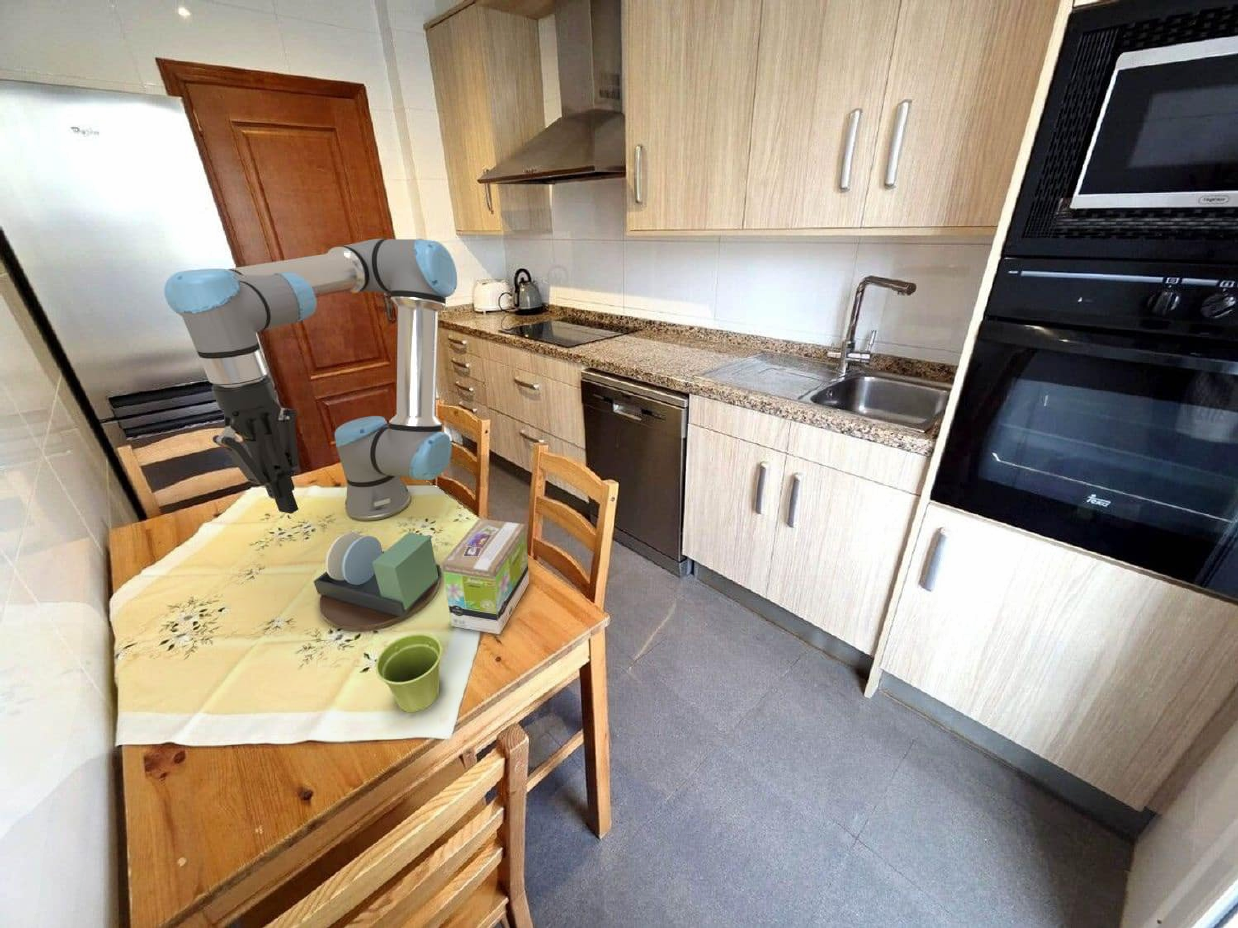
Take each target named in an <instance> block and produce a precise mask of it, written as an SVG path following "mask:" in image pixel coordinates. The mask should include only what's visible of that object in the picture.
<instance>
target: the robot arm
mask: <svg viewBox="0 0 1238 928" xmlns="http://www.w3.org/2000/svg"><path fill="white" fill-rule="evenodd" d="M457 272H458V271H457V267H456V264H455V261H454V258H453V257H452V255H451V253H450V251H449V250H448V249H447V247H446V246H445V245H444V244H443V243H441V242H439V241H437V240H431V239H430V240H429V239H424V238H415V239H414V238H413V239H412V238H409V239H408V238H406V239H401V238H400V239H399V238H374V239H368V240H364V241H359V242H354V243H350V244H345V245H340V246H335V247H331V249H329V250H328V251H327V253H323V254H318V255H317V254H316V255H310V256H304V257H303V256H302V257H297V258H291V259H284V260H278V261H271V262H265V263H257V264H252V265H245V266H240V267H239V266H238V267H232V268H228V269H227V268H200V269H189V270H182V271H181V270H180V271H178V272H175V273H173V274H172V275H171V276H170V277H169V278H168V279H167V280H166V282H165V284H164V287H163V288H164V289H163V292H164V298H165V300H166V303H167V305H169V307H170V309H171V310H172V311H173V312H175V313H176V314H177V315H179V316H180V317H182V320H183V323H184V324H185V326H186V330H187V332H188V334H189V337H190V339H191V341H192V344H193V346H194V348H195V350H196V353H197V356H198V358H199V360H200V363H201V364H202V367H203V370H204V373H205V375H206V377H207V380H208V382H209V383H210V384H212V386H211V388H210V389H211V391H212V393H213V396H214V399H215V401H216V404H217V406H218V408H219V409H220V411H221V412H222V414H223V417H224V418H223V425H224V429H223V431H222V432H221V433H220V434H216V435H214V436H213V437H212V442H213V443H214V444H216V445H218V446H219V447H221V448H222V449H223V450H224V451H225V452H226V453H227V455H228V456H229V457H230V458H231V460H232V462H234V464H235V466H237V468H238V469H239V470H240V472H241V473H242V474H243V476H244V477H245V478H246V479H247V481H248V482H249V483H253V484H257V485H262V486H263V485H264V487H265V490H266V492H267V496H268V497H269V498H270V499H273V500H274V501H275V505H276V506H277V507H276V508H277V509H278V511H279V512H280V513H285V514H289V515H292V514H294V513H295V512H297V511H299V506H298V504H297V500H296V498H295V495H294V493H293V491H294V490H295V484H294V481H293V478H292V476H294V475H295V470H293V469H294V468H297V467H298V466H299V463H300V462H299V461H300V460H299V453H298V443H297V433H296V421H297V415H298V412H297V410H296V409H295V408H294V409H293V408H287V407H282V406H281V405H280V403H279V402H278V401H277V398H278V397H277V392H276V390H275V386H274V384H273V381H272V377H270V376H268V374H269V367H268V365H267V363H266V360H265V357H264V354H263V352H262V348H261V345H260V343H259V340H258V336H257V333H260V332H263V331H268V330H271V329H275V328H279V327H283V326H288V325H290V324H299V322H302V321H304V320H306V319H309V318H311V317H312V316H313V315H314V313H315V312H316V310H317V308H318V307H317V306H318V305H317V304H318V302H317V301H318V300H317V298H319V297H323V296H327V295H332V294H336V293H340V292H343V293H346V294H351V295H352V294H357V293H363V292H366V293H367V292H368V293H383V294H384V293H385V294H390V301H391V302H392V303H393V304H394V305H395V306H396V308H397V345H396V348H397V349H396V352H397V353H396V406H395V407H396V408H395V409H396V410H395V411H396V413H395V415H394V416H393V417H392V418H390V419H389V420H388V421H387V420H386V418H385V417H384V416H379V415H370V416H366V417H365V416H364V417H360V418H355V419H352V420H350V421H347V422H344V423H343V424H341V425H340V426H338V427H336V429H335V431H334V439H335V447H336V450H337V454H338V457H339V461H340V464H341V467H342V471H343V474H344V477H345V480H346V484H347V486H346V499H345V502H344V507H345V512H346V514H347V516H348V517H349V519H353V520H356V521H362V522H374V521H380V520H384V519H388V518H391V517H393V516H396V515H398V514H400V513H402V512H404V510H406V509H407V508H408V507H409V505H410V503H411V501H412V497H411V493H410V491H409V489H408V487H407V486H406V485H405V482H404V481H403V479H402V478H406V479H412V480H415V481H419V480H421V481H433V480H436V479H437V478H438V477H440V476H441V475H442V474H443V473H444V472H445V470H446V469H447V467H448V466H449V464H450V460H451V456H452V453H453V452H452V451H453V444H452V441H451V437H450V436H449V435H448V434H447V433H445V432H443V423H442V421H440V420H439V419H438V417H437V416H436V414H437V413H436V412H437V383H438V382H437V381H438V380H437V379H438V377H437V376H438V345H439V343H438V342H439V341H438V340H439V314H440V312H441V311H443V309H445V308H446V305H447V304H446V303H447V301H446V300H447V298H449V297H451V296H452V295H454V293H455V292H456V291H455V290H456V289H457V287H458V273H457ZM238 436H239V437H241V439H242V442H243V443H244V444H245V445H246V447H247V449H248V451H247V449H246V448H245V447H244V446H243V445H242V443H240V439H239V438H238Z"/></svg>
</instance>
